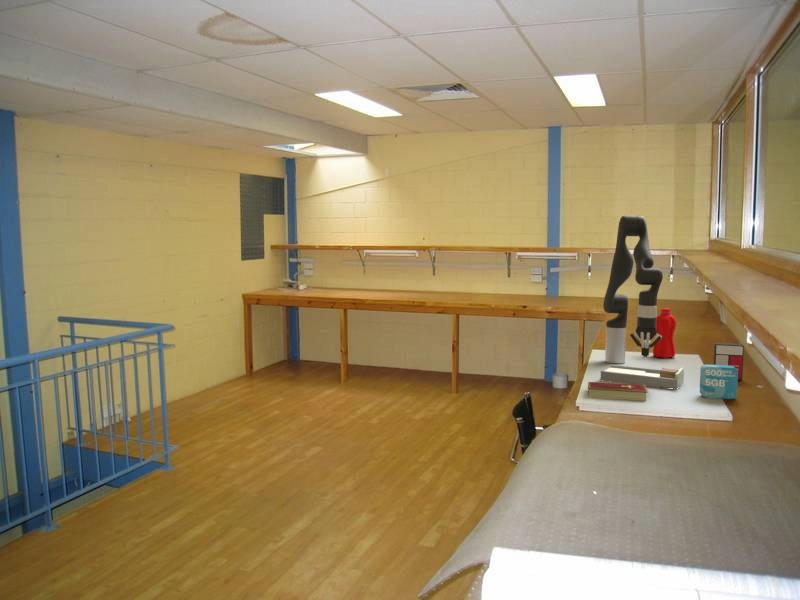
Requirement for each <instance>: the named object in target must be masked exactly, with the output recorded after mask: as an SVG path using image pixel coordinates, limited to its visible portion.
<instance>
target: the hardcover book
mask: <svg viewBox="0 0 800 600" xmlns="http://www.w3.org/2000/svg"><path fill="white" fill-rule="evenodd" d="M588 389H589V390H588ZM587 390H588V397H589V396H590V397H589V398H598V397H599V399H600V398H601V399H613V400H614V399H615V400H630V401H644V402H646V401H647V394H648V393H649V391H648V389H647V386H645V385H636V384H625V383H617V382H604V381H603V382H602V381H601V382H599V381H587Z"/></svg>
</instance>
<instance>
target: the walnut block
mask: <svg viewBox="0 0 800 600" xmlns="http://www.w3.org/2000/svg"><path fill="white" fill-rule="evenodd" d="M659 370H660V377H662V378H671V379H675V374H676V373H677V372H678V371H679V369H676V368H675V369H674V368H668V367H667V368H666V367H663V368H662V367H661V369H659Z"/></svg>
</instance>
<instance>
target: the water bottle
mask: <svg viewBox="0 0 800 600" xmlns="http://www.w3.org/2000/svg"><path fill="white" fill-rule="evenodd" d="M676 326H677V319H676V317H674V316H673V315H672V314H671V308H667V307H666V308H664V307H663V308H661V309H660V314H658V315H657V321H656V330H657V333H658V334H659V335H661V336H662V338H661V339H660V340H659V341H658V342H657V343H656V344H655V346H653V347H652V348H653V349H652V355H653V357H655V356H656V357H655V358H659V357H661V358H660V359H670V358H669V357H673V358H674V357H675V356H676V348H675V343H674V342H675V341H674V334H675V330H676Z"/></svg>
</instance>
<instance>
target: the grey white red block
mask: <svg viewBox="0 0 800 600" xmlns="http://www.w3.org/2000/svg"><path fill="white" fill-rule="evenodd" d="M744 351H745V346H744V345H743V344H741V343H740V344H739V343H722V342H714V344H713V363H712V365H727V366H733V367H734V368H736V369H737V370H738V381H743V375H744V374H743V373H744V371H743V370H744V357H745V356H744V354H745V353H744Z"/></svg>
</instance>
